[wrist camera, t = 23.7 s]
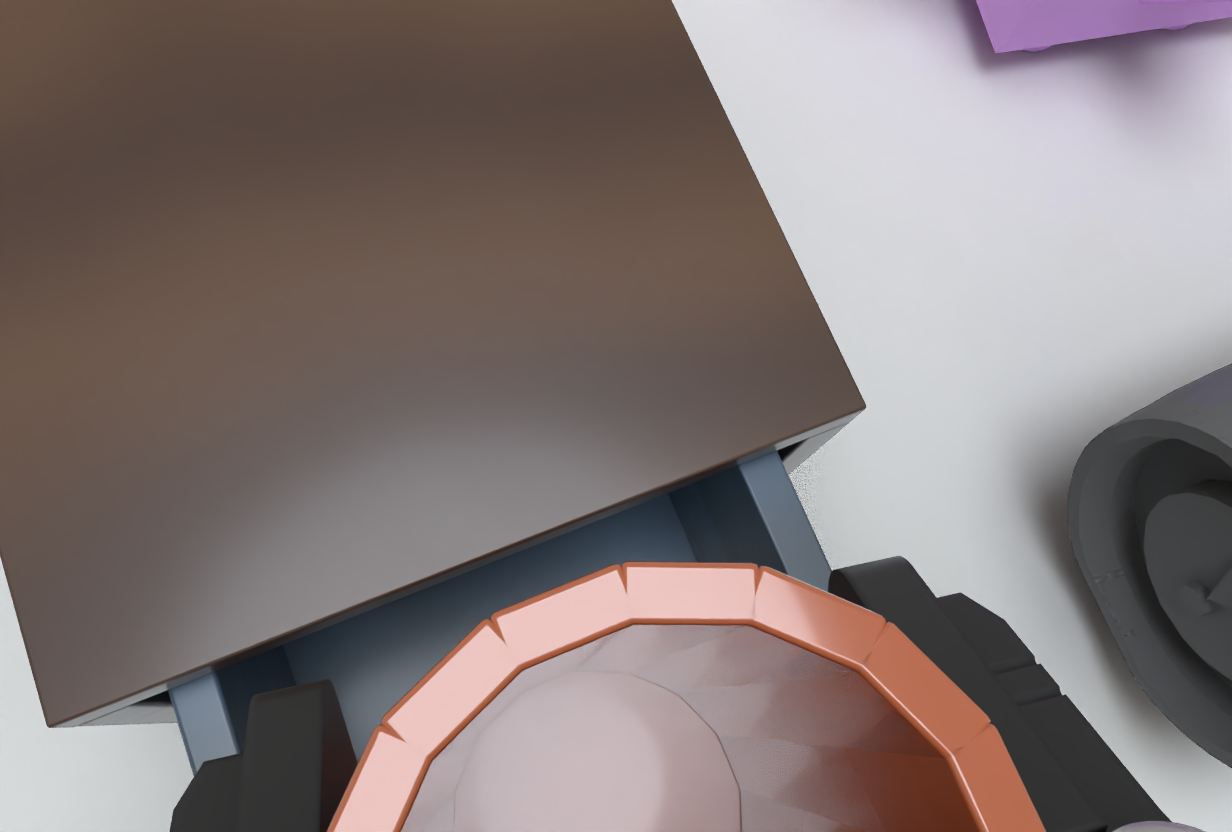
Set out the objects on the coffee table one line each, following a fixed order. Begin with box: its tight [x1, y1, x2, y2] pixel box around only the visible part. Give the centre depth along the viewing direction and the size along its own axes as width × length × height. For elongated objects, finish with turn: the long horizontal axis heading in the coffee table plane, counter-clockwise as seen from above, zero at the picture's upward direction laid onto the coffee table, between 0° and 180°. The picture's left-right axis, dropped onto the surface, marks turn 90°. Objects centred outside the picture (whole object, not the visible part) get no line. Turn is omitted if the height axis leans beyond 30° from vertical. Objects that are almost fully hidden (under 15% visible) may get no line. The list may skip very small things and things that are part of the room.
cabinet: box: [0, 0, 866, 728], centre depth 23 cm, size 16×14×10 cm
